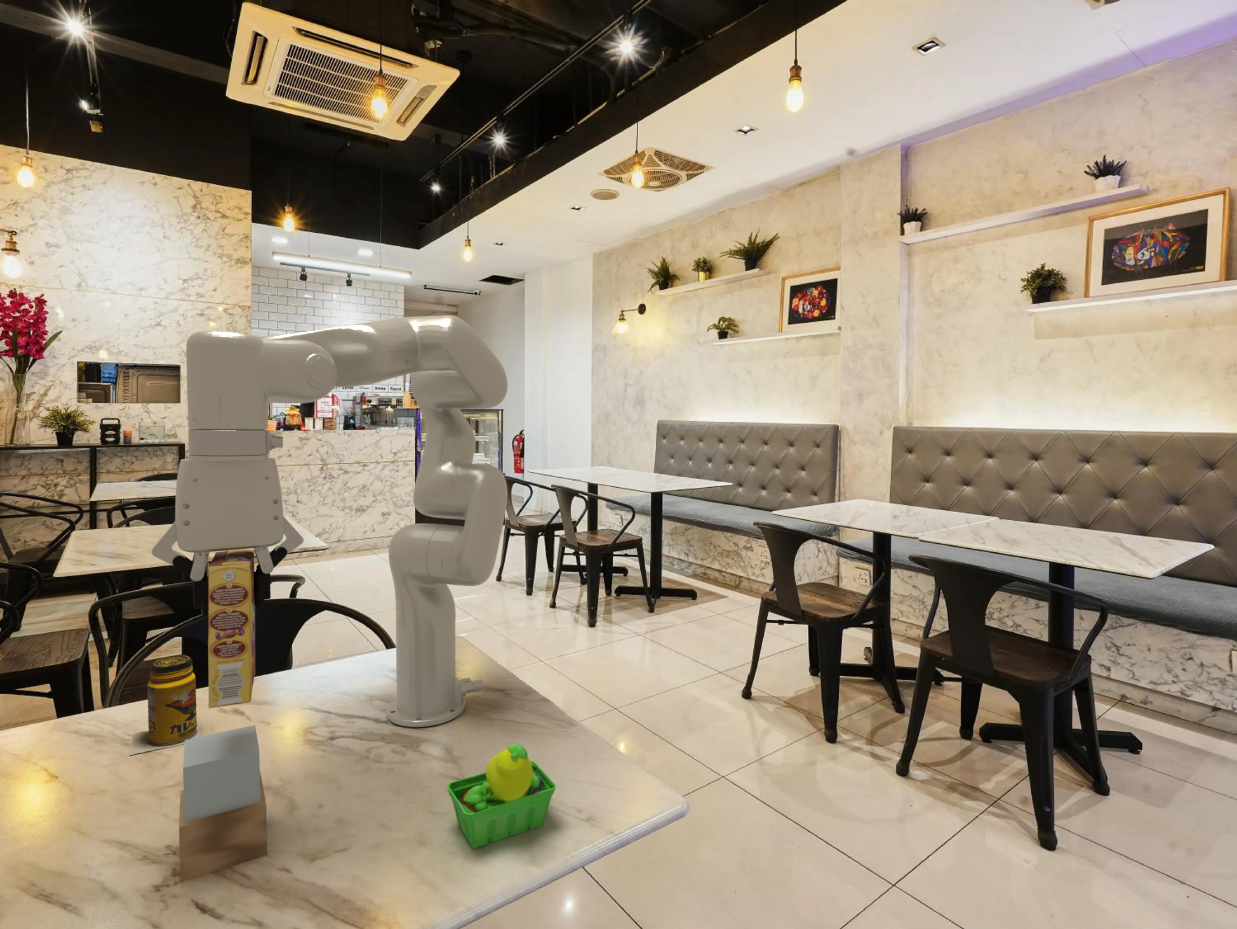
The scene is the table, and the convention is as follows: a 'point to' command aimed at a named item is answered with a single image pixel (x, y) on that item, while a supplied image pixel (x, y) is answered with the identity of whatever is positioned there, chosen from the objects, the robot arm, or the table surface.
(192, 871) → the walnut block
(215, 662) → the candy box
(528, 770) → the fruit basket
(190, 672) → the condiment
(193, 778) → the slate block
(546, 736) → the table surface
